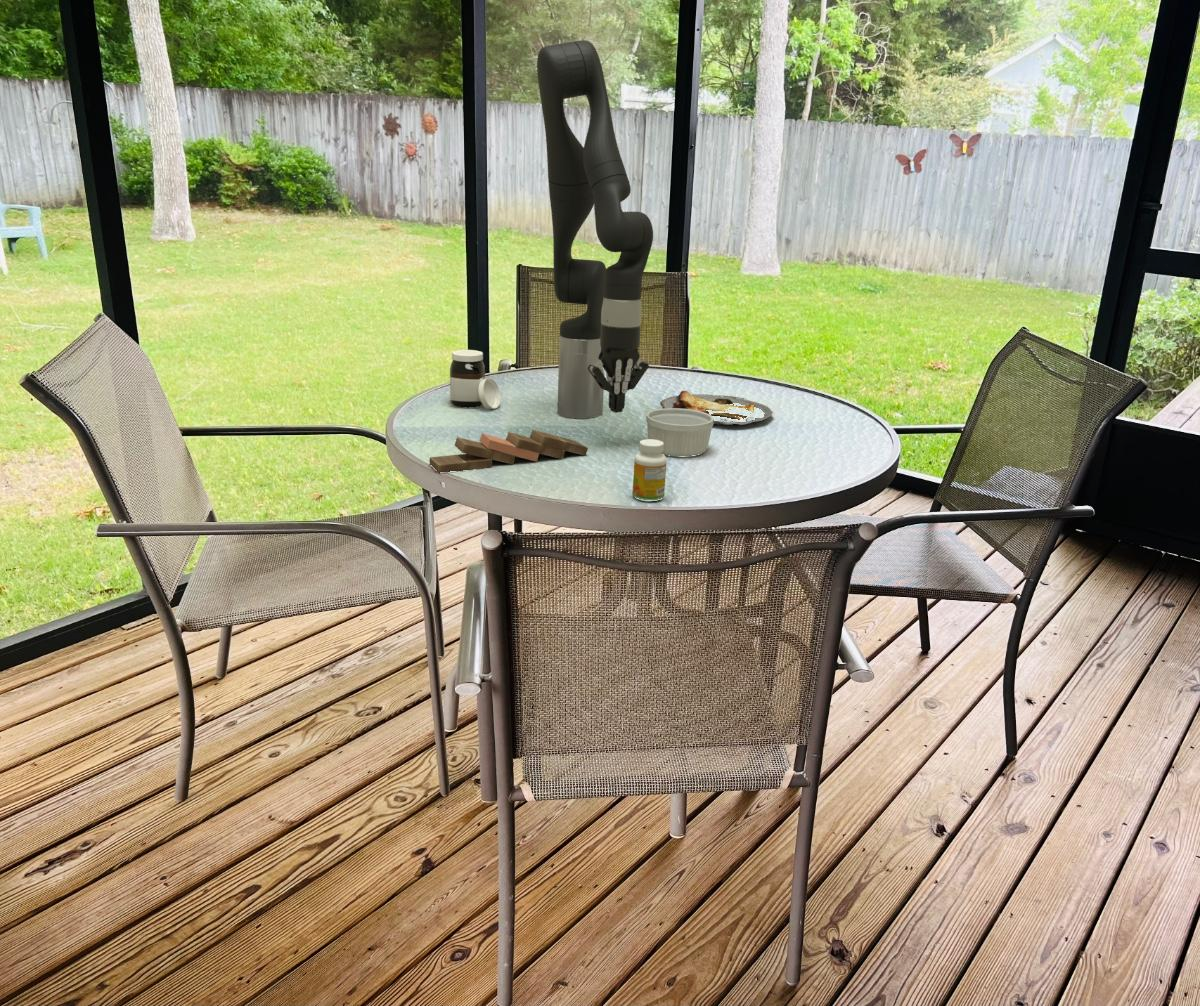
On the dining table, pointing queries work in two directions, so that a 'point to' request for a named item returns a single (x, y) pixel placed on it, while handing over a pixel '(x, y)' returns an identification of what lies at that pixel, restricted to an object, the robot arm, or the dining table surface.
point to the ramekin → (680, 430)
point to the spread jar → (471, 381)
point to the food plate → (714, 405)
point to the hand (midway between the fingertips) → (616, 411)
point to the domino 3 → (506, 447)
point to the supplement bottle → (649, 471)
